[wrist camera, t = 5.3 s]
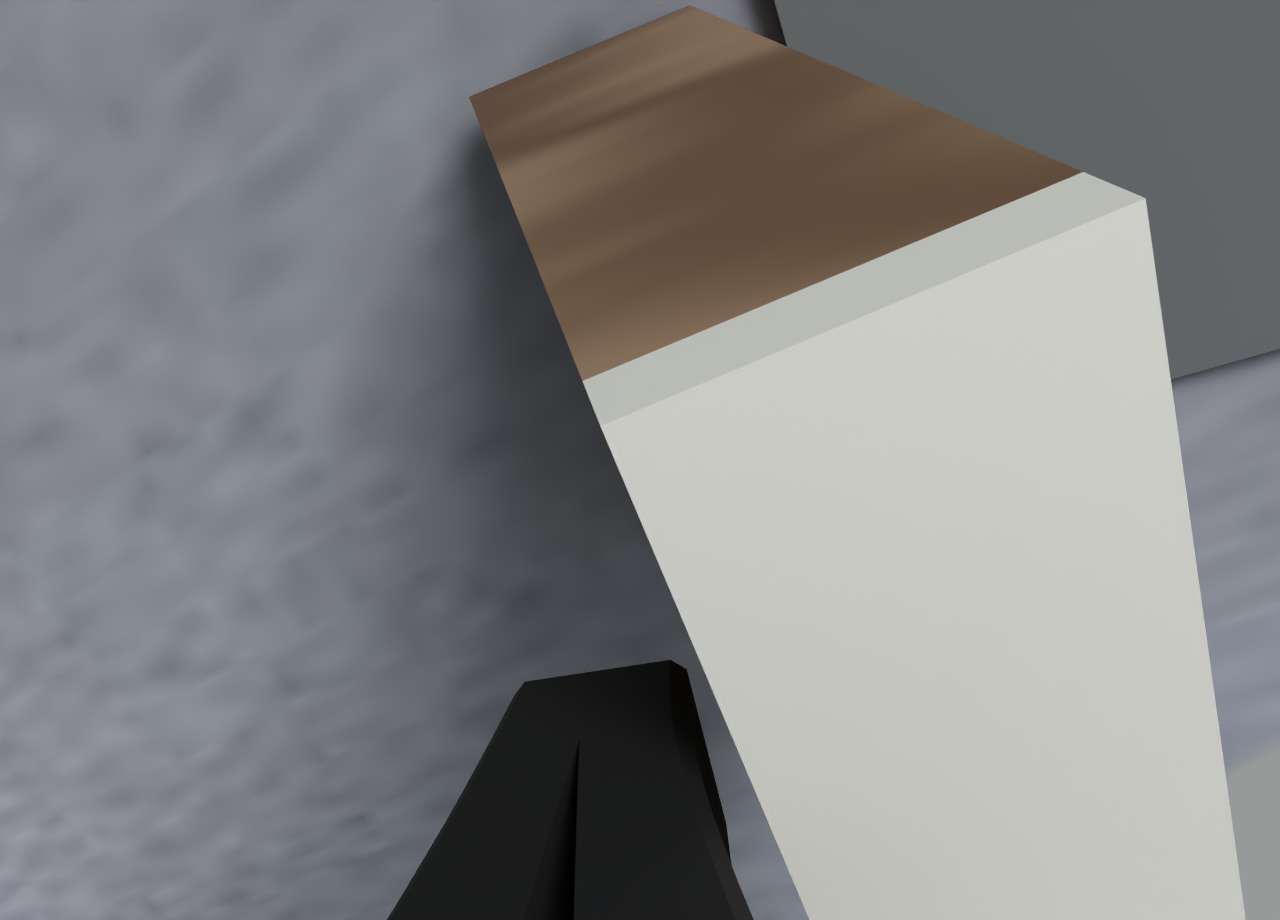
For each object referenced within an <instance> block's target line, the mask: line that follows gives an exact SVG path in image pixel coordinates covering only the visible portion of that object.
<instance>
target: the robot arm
mask: <svg viewBox="0 0 1280 920" xmlns="http://www.w3.org/2000/svg"><path fill="white" fill-rule="evenodd" d="M387 920H753V917H752V915H751V912H750V910H749V908H748V905H747V903H746V900H745V898H744V896H743V893H742V891H741V888H740V886H739V883H738V881H737V878H736V876H735V873H734V870H733V868H732V865H731V859H730V851H729V843H728V835H727V827H726V821H725V817H724V813H723V810H722V806H721V802H720V798H719V794H718V790H717V786H716V782H715V778H714V774H713V771H712V767H711V763H710V759H709V755H708V751H707V747H706V743H705V739H704V735H703V731H702V728H701V724H700V720H699V716H698V712H697V708H696V704H695V700H694V696H693V692H692V689H691V685H690V681H689V677H688V673H687V669H685V668H683V667H682V666H680V665H678V664H677V663H675V662H673V661H671V660H667V661H660V662H653V663H647V664H640V665H633V666H627V667H620V668H613V669H607V670H600V671H594V672H587V673H580V674H574V675H567V676H560V677H554V678H547V679H540V680H534V681H527V682H524V684H523V685H522V686H521V687H520V689H519V690H518V691H517V693H516V694H515V696H514V697H513V699H512V701H511V703H510V705H509V707H508V709H507V711H506V713H505V714H504V716H503V718H502V720H501V722H500V724H499V726H498V728H497V730H496V731H495V733H494V735H493V737H492V739H491V741H490V743H489V745H488V746H487V748H486V750H485V752H484V754H483V756H482V758H481V760H480V761H479V763H478V765H477V767H476V769H475V771H474V772H473V774H472V776H471V778H470V780H469V781H468V783H467V785H466V787H465V789H464V790H463V792H462V794H461V796H460V798H459V799H458V801H457V803H456V805H455V806H454V808H453V810H452V812H451V814H450V815H449V817H448V819H447V821H446V822H445V824H444V826H443V828H442V829H441V831H440V833H439V834H438V836H437V838H436V839H435V841H434V843H433V844H432V846H431V848H430V849H429V851H428V853H427V854H426V856H425V858H424V859H423V861H422V863H421V865H420V866H419V868H418V870H417V871H416V873H415V875H414V876H413V878H412V880H411V881H410V883H409V885H408V886H407V888H406V890H405V891H404V893H403V895H402V896H401V898H400V900H399V901H398V903H397V905H396V906H395V908H394V909H393V911H392V913H391V914H390V916H389V917H388V919H387Z"/></svg>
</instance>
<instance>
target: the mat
mask: <svg viewBox="0 0 1280 920" xmlns="http://www.w3.org/2000/svg"><path fill="white" fill-rule="evenodd" d="M774 4H775V7H776V11H777V15H778V18H779V22H780V25H781V29H782V32H783V36H784V40H785V43H786V46H787V47H789V48H792V49H794V50H796V51H799V52H801V53H803V54H806V55H808V56H810V57H813V58H815V59H818V60H820V61H822V62H825V63H827V64H829V65H832V66H834V67H836V68H839V69H841V70H844V71H846V72H848V73H851V74H853V75H855V76H858V77H860V78H862V79H865V80H867V81H870V82H872V83H874V84H877V85H879V86H881V87H884V88H886V89H888V90H891V91H893V92H896V93H898V94H900V95H903V96H905V97H907V98H910V99H912V100H915V101H917V102H919V103H922V104H924V105H926V106H929V107H931V108H933V109H936V110H938V111H941V112H943V113H945V114H948V115H950V116H952V117H955V118H957V119H959V120H962V121H964V122H967V123H969V124H971V125H974V126H976V127H978V128H981V129H983V130H985V131H988V132H990V133H993V134H995V135H997V136H1000V137H1002V138H1004V139H1007V140H1009V141H1011V142H1014V143H1016V144H1019V145H1021V146H1023V147H1026V148H1028V149H1030V150H1033V151H1035V152H1037V153H1040V154H1042V155H1045V156H1047V157H1049V158H1052V159H1054V160H1056V161H1059V162H1061V163H1064V164H1066V165H1068V166H1071V167H1073V168H1075V169H1078V170H1080V171H1082V172H1085V173H1087V174H1090V175H1092V176H1094V177H1097V178H1099V179H1101V180H1104V181H1106V182H1108V183H1111V184H1113V185H1116V186H1118V187H1120V188H1123V189H1125V190H1127V191H1130V192H1132V193H1134V194H1137V195H1139V196H1142V197H1144V198H1146V205H1147V212H1148V219H1149V226H1150V234H1151V241H1152V248H1153V255H1154V262H1155V270H1156V277H1157V284H1158V291H1159V299H1160V306H1161V313H1162V320H1163V327H1164V335H1165V342H1166V349H1167V356H1168V364H1169V371H1170V378H1171V379H1174V378H1178V377H1181V376H1185V375H1188V374H1192V373H1196V372H1199V371H1203V370H1206V369H1210V368H1213V367H1217V366H1221V365H1224V364H1228V363H1231V362H1235V361H1238V360H1242V359H1246V358H1249V357H1253V356H1256V355H1260V354H1263V353H1267V352H1271V351H1274V350H1278V349H1280V0H774Z"/></svg>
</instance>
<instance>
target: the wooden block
mask: <svg viewBox="0 0 1280 920" xmlns="http://www.w3.org/2000/svg"><path fill="white" fill-rule="evenodd" d="M469 98H470V100H471V103H472V105H473V108H474V110H475V113H476V115H477V118H478V120H479V123H480V125H481V128H482V130H483V133H484V135H485V138H486V140H487V143H488V145H489V148H490V150H491V153H492V156H493V158H494V161H495V163H496V166H497V168H498V171H499V173H500V176H501V178H502V181H503V183H504V186H505V188H506V191H507V193H508V196H509V198H510V201H511V203H512V206H513V208H514V211H515V213H516V216H517V218H518V221H519V223H520V226H521V228H522V231H523V233H524V236H525V238H526V241H527V243H528V246H529V248H530V251H531V253H532V256H533V258H534V261H535V263H536V266H537V268H538V271H539V273H540V276H541V278H542V281H543V283H544V286H545V288H546V291H547V294H548V296H549V299H550V301H551V304H552V306H553V309H554V311H555V314H556V316H557V319H558V321H559V324H560V326H561V329H562V331H563V334H564V336H565V339H566V341H567V344H568V346H569V349H570V351H571V354H572V356H573V359H574V361H575V364H576V366H577V369H578V371H579V374H580V376H581V379H582V381H583V384H584V386H585V389H586V391H587V394H588V396H589V399H590V401H591V404H592V406H593V409H594V411H595V414H596V416H597V419H598V421H599V424H600V426H601V429H602V431H603V434H604V436H605V438H606V441H607V443H608V445H609V448H610V450H611V452H612V455H613V457H614V460H615V462H616V464H617V467H618V469H619V471H620V474H621V476H622V478H623V481H624V483H625V485H626V488H627V490H628V493H629V495H630V497H631V500H632V502H633V504H634V507H635V509H636V511H637V514H638V516H639V518H640V521H641V523H642V526H643V528H644V530H645V533H646V535H647V537H648V540H649V542H650V544H651V547H652V549H653V552H654V554H655V556H656V559H657V561H658V563H659V566H660V568H661V570H662V573H663V575H664V577H665V580H666V582H667V585H668V587H669V589H670V592H671V594H672V596H673V599H674V601H675V603H676V606H677V608H678V610H679V613H680V615H681V618H682V620H683V622H684V625H685V627H686V629H687V632H688V634H689V636H690V639H691V641H692V644H693V646H694V648H695V651H696V653H697V655H698V658H699V660H700V662H701V665H702V667H703V669H704V672H705V674H706V677H707V679H708V681H709V684H710V686H711V688H712V691H713V693H714V695H715V698H716V700H717V703H718V705H719V707H720V710H721V712H722V714H723V717H724V719H725V721H726V724H727V726H728V728H729V731H730V733H731V736H732V738H733V740H734V743H735V745H736V747H737V750H738V752H739V754H740V757H741V759H742V761H743V764H744V766H745V769H746V771H747V773H748V776H749V778H750V780H751V783H752V785H753V787H754V790H755V792H756V795H757V797H758V799H759V802H760V804H761V806H762V809H763V811H764V813H765V816H766V818H767V820H768V823H769V825H770V828H771V830H772V832H773V835H774V837H775V839H776V842H777V844H778V846H779V849H780V851H781V853H782V856H783V858H784V861H785V863H786V865H787V868H788V870H789V872H790V875H791V877H792V879H793V882H794V884H795V887H796V889H797V891H798V894H799V896H800V898H801V901H802V903H803V905H804V908H805V910H806V912H807V915H808V917H809V920H1246V919H1245V913H1244V905H1243V898H1242V891H1241V884H1240V876H1239V869H1238V862H1237V855H1236V848H1235V840H1234V833H1233V826H1232V818H1231V811H1230V804H1229V797H1228V790H1227V782H1226V775H1225V768H1224V761H1223V753H1222V746H1221V739H1220V732H1219V725H1218V717H1217V710H1216V703H1215V696H1214V688H1213V681H1212V674H1211V667H1210V660H1209V652H1208V645H1207V638H1206V631H1205V623H1204V616H1203V609H1202V602H1201V595H1200V587H1199V580H1198V573H1197V566H1196V558H1195V551H1194V544H1193V537H1192V530H1191V522H1190V515H1189V508H1188V501H1187V493H1186V486H1185V479H1184V472H1183V465H1182V457H1181V450H1180V443H1179V436H1178V428H1177V421H1176V414H1175V407H1174V400H1173V392H1172V385H1171V378H1170V371H1169V364H1168V356H1167V349H1166V342H1165V335H1164V327H1163V320H1162V313H1161V306H1160V299H1159V291H1158V284H1157V277H1156V270H1155V262H1154V255H1153V248H1152V241H1151V234H1150V226H1149V219H1148V212H1147V205H1146V198H1144V197H1142V196H1139V195H1137V194H1134V193H1132V192H1130V191H1127V190H1125V189H1123V188H1120V187H1118V186H1116V185H1113V184H1111V183H1108V182H1106V181H1104V180H1101V179H1099V178H1097V177H1094V176H1092V175H1090V174H1087V173H1085V172H1082V171H1080V170H1078V169H1075V168H1073V167H1071V166H1068V165H1066V164H1064V163H1061V162H1059V161H1056V160H1054V159H1052V158H1049V157H1047V156H1045V155H1042V154H1040V153H1037V152H1035V151H1033V150H1030V149H1028V148H1026V147H1023V146H1021V145H1019V144H1016V143H1014V142H1011V141H1009V140H1007V139H1004V138H1002V137H1000V136H997V135H995V134H993V133H990V132H988V131H985V130H983V129H981V128H978V127H976V126H974V125H971V124H969V123H967V122H964V121H962V120H959V119H957V118H955V117H952V116H950V115H948V114H945V113H943V112H941V111H938V110H936V109H933V108H931V107H929V106H926V105H924V104H922V103H919V102H917V101H915V100H912V99H910V98H907V97H905V96H903V95H900V94H898V93H896V92H893V91H891V90H888V89H886V88H884V87H881V86H879V85H877V84H874V83H872V82H870V81H867V80H865V79H862V78H860V77H858V76H855V75H853V74H851V73H848V72H846V71H844V70H841V69H839V68H836V67H834V66H832V65H829V64H827V63H825V62H822V61H820V60H818V59H815V58H813V57H810V56H808V55H806V54H803V53H801V52H799V51H796V50H794V49H792V48H789V47H787V46H784V45H782V44H780V43H777V42H775V41H773V40H770V39H768V38H766V37H763V36H761V35H758V34H756V33H754V32H751V31H749V30H747V29H744V28H742V27H739V26H737V25H735V24H732V23H730V22H728V21H725V20H723V19H721V18H718V17H716V16H713V15H711V14H709V13H706V12H704V11H702V10H699V9H697V8H695V7H692V6H687V7H685V8H682V9H680V10H678V11H675V12H673V13H670V14H668V15H666V16H663V17H661V18H658V19H656V20H654V21H651V22H649V23H646V24H644V25H641V26H639V27H637V28H634V29H632V30H629V31H627V32H625V33H622V34H620V35H617V36H615V37H612V38H610V39H608V40H605V41H603V42H600V43H598V44H596V45H593V46H591V47H588V48H586V49H583V50H581V51H579V52H576V53H574V54H571V55H569V56H567V57H564V58H562V59H559V60H557V61H554V62H552V63H550V64H547V65H545V66H542V67H540V68H538V69H535V70H533V71H530V72H528V73H525V74H523V75H521V76H518V77H516V78H513V79H511V80H509V81H506V82H504V83H501V84H499V85H496V86H494V87H492V88H489V89H487V90H484V91H482V92H480V93H477V94H475V95H472V96H470V97H469Z"/></svg>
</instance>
